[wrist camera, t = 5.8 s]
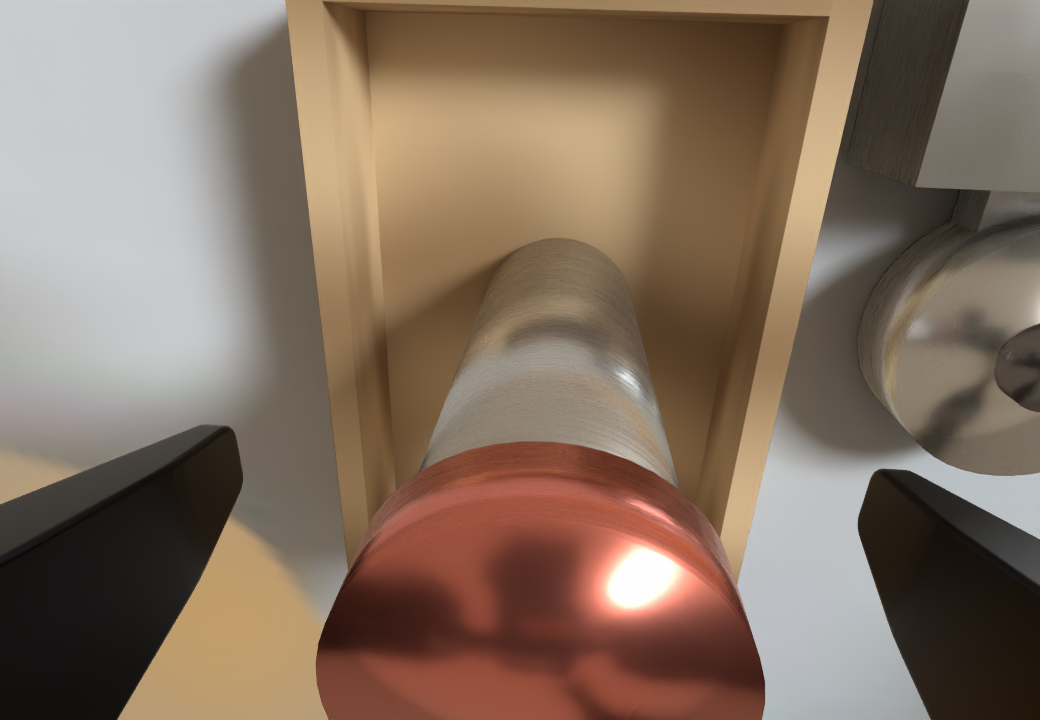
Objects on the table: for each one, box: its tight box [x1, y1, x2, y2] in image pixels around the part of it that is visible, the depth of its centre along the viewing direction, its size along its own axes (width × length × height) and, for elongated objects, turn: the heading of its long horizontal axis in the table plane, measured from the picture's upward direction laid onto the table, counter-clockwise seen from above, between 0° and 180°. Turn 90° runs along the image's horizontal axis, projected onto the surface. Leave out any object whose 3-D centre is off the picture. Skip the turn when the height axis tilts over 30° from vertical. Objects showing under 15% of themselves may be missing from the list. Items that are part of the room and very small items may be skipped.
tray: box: [285, 0, 874, 584], centre depth 14 cm, size 13×9×3 cm
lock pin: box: [316, 238, 765, 720], centre depth 10 cm, size 4×4×10 cm
